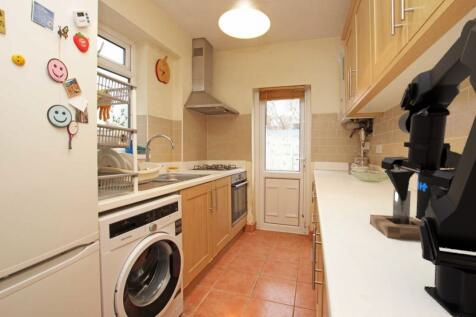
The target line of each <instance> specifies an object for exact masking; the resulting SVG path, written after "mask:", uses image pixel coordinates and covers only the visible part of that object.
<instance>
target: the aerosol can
mask: <svg viewBox="0 0 476 317" xmlns="http://www.w3.org/2000/svg"><path fill="white" fill-rule="evenodd" d="M427 172H430V171H427ZM416 175H417V184H416V185H417V186H416V187H417V188H416V211H415V213H416V214H415V217H414V218H415V219H417V220H419V221H421V219H422V217H424V216H425V214H426V213H425V210H426V209H427V207H428V203H429V199H430V197H431V196H432V194H431V186H432V185H435V184H434V182H433V181H432V177H429V176H426V175H422V174H419V173H416Z"/></svg>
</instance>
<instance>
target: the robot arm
mask: <svg viewBox="0 0 476 317" xmlns="http://www.w3.org/2000/svg"><path fill="white" fill-rule="evenodd" d="M468 77H469V83H470V85H471V88H472V89H473V91H474V93H475V94H476V17H474V19H468V20H467V21H466V23H465V24H464V25H463V27H462V29H461V32H460V36H459V37H458V38H457V39H456V40H455V41H454V43H453V44H452V45H451V46H450V47H449V49H447V51H446V52H445V54H443V56H441V58H440V59H439V60H438V61H437V63H436V64H435V65H434V66H433V67H432V68H431V69H428V70H425V71H422V72H420V73H419V74H417V75H416V76H414V77H413V79H412V80H411V82H409V83H408V84H407V87H406V88H405V89H404V91H403V94H402V97H401V100H400V103H399V104H400V111H401V112H402V111H403V112H404V111H406V112H404V113H403V114H402V115H401V116H400V117H399V120H398V122H397V124H398V129H399V130H400V131H401V132H403V133H405V134H407V135H409V137H408V141H403V147H404V148H408V149H407V150H408V151H407V157H406V156H387V157H386V156H385V157H384V158H383V159H382V160H381V166H380V168H381V169H383V170H384V173H385V174H386V175H387V177H388V178H389V180H390V182H391V184H392V185H393V188H394V190H396V192H397V194H398V196H399V198H400V200H401V201H405V200H406V198H407V194H408V191H409V186H410V180H411V178H412V177H413V176H414V174H417V173H419V174H422V175H426V176H429V177H432V181H433V182H434V184H435V185H432V186H431V194H432V196H431V197H430V199H429V203H428V207H427V209H426V210H425V213H426V214H425V216H424V217H422V219H421V220H420V221H421V223H420V224H419V226H418V227H419V233H420V238H421V240H420V246H421V257H422V259H423V260H426V261H428V262H431V264H433V266H434V267H435V268H434V286H427V285H424V287H423V288H424V291H425V292H426V293H427V294H429V296H431V297H432V299H434V300H435V301H436V303H438V304H439V305H440V306H441V307H442V308H443V309H444V310H445V311H446V312H448V314H450V315H451V316H454V317H476V254H471V253H476V115H475V116H474V119H473V122H472V124H471V127H470V130H469V133H468V136H467V139H466V142H465V143H464V148H463V150H462V153H459V152H456V151H452V150H451V148H452V147H451V144H450V142H445V139H446V137H445V136H446V129H447V120H448V117H449V116H450V115H451V111H450V110H449V108H448V107H450V105H451V104H452V102H453V101H454V100H455V98H456V97H457V96H458V95H459V94H460V86H461V83H463V81H465V80H466V79H467V78H468ZM427 171H430V172H427ZM440 249H447V250H454V251H446V250H440ZM455 251H463V252H469V253H470V254H469V253H461V252H455Z"/></svg>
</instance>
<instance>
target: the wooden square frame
mask: <svg viewBox="0 0 476 317" xmlns="http://www.w3.org/2000/svg"><path fill="white" fill-rule="evenodd" d="M392 222H393V215H387V214H386V215H383V214H370V215H369V225H371V226H372V227H373V228H375V229H376V230H377V231H378V232H380V233H381V234H382V235H384V237H386V238H389V239H405V240H419V241H421V238H420V233H419V227H418V226H419V224H420V223H421V220H419V219H417V218H416V217H412V216H410V222H409V225H405V224H394V223H392Z"/></svg>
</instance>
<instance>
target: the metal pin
mask: <svg viewBox="0 0 476 317" xmlns="http://www.w3.org/2000/svg"><path fill="white" fill-rule="evenodd" d="M411 194H412V192H411V190H408V194H407V198H406V200H405V201H401V200H400V198H399V196H398V194H397V192H396V190H395V189H393V195H392V196H393V198H392V216H393V222H392V223H394V224H405V225H409V222H410V217H411V215H410V214H411Z"/></svg>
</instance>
